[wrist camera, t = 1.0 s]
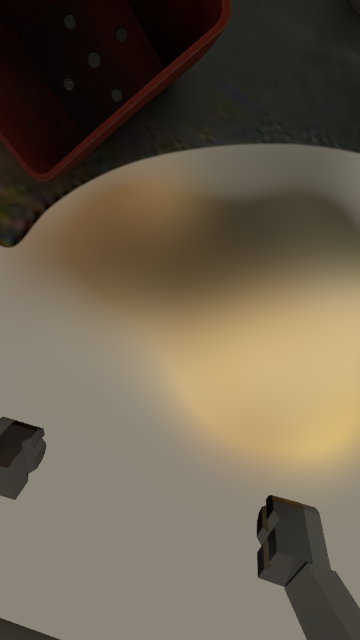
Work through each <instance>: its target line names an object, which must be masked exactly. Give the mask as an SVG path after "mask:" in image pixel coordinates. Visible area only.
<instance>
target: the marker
mask: <svg viewBox="0 0 360 640" xmlns="http://www.w3.org/2000/svg"><path fill="white" fill-rule="evenodd" d="M350 2H351V5H352V8H353V9H354V10H355V11H356V12H357V13H360V0H350Z"/></svg>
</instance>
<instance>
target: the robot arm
mask: <svg viewBox="0 0 360 640" xmlns="http://www.w3.org/2000/svg"><path fill="white" fill-rule="evenodd" d="M43 436H44V429H43V428H40V427H36V426H33V425H29V424H26V423H23V422H19V421H17V420H13V419H10V418H6V417H2V418H0V495H1V496H4V497H7V498H11V499H16V498H17V496H18V495H19V494H20V492H21V491H22V489H23V488H24V486H25V485H26V483H27V482H28V474H29V473H30V472H32V471H34V470H35V469H37V467H38V466H39V464H40V463H41V461H42V459H43V456H44V454H45V450H46V443H45V441H44V440H43V439H42V437H43ZM257 538H258V540H259V542H260V544H261V548H260V549H259V551H258V552H257V561H258V578H261V579H264V580H267V581H269V582H272V583H275V584H278V585H281V586H283V587H285V591H286V593H287V596H288V598H289V600H290V602H291V605H292V607H293V609H294V611H295V614H296V616H297V618H298V620H299V623H300V625H301V627H302V630H303V632H304V634H305V636H306V639H307V640H360V608H359V607H358V605H357V603H356V602H355V600H354V599H353V597H352V596H351V594H350V593H349V591H348V590H347V588H346V586H345V585H344V584H343V582H342V580H341V579H340V577H339V576H338V574H337V573H336V571H333V570H331V568H330V563H329V559H328V554H327V548H326V544H325V539H324V534H323V529H322V524H321V519H320V514H319V512H318V511H317V509H316V508H315V507H311V506H308V505H304V504H301V503H298V502H295V501H291V500H287V499H284V498H279V497H276V496H272V495H269V496H268V497H267V499H266V506H263V507H262V508H261V510H260V512H259V515H258V520H257ZM0 640H59V639H57V638H54V637H51V636H49V635H46V634H43V633H40V632H37V631H35V630H32V629H29V628H26V627H24V626H21V625H18V624H15V623H13V622H10V621H7V620H4V619H1V618H0Z"/></svg>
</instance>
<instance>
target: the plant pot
mask: <svg viewBox="0 0 360 640" xmlns="http://www.w3.org/2000/svg"><path fill="white" fill-rule="evenodd" d="M231 10H232V9H231V1H230V0H0V140H1V141H2V142H3V143H4V145H5V146H6V147H7V148H8V150H9V151H10V152H11V153H12V155H13V156H14V157H15V158H16V159H17V161H18V162H19V163H20V164H21V166H22V167H23V168H24V169H25V171H26V172H27V173H28V174H29V175H30V176H31V177H32V178H33V179H35V180H37V181H48V180H51V179H54V178H56V177H58V176H60V175H62V174H64V173H66V172H68V171H69V170H71V169H72V168H74V167H75V166H76V165H78V164H79V163H80V162H81V161H82V160H83V159H85V158H86V157H87V156H88V155H89V154H90V153H91V152H92V151H93V150H95V149H96V148H97V147H98V146H99V145H100V144H101V143H102V142H103V141H104V140H106V139H107V138H108V137H109V136H110V135H111V134H112V133H113V132H114V131H116V130H117V129H118V128H119V127H120V126H121V125H122V124H123V123H125V122H126V121H127V120H128V119H129V118H130V117H132V116H133V115H134V114H135V113H136V112H137V111H139V110H140V109H141V108H142V107H143V106H145V105H146V104H147V103H148V102H150V101H151V100H152V99H153V98H154V97H156V96H157V95H158V94H159V93H161V92H162V91H163V90H164V89H165V88H167V87H168V86H169V85H170V84H172V83H173V82H174V81H175V80H176V79H178V78H179V77H180V76H181V75H182V74H184V73H185V72H186V71H187V70H189V69H190V68H191V67H192V66H193V65H194V64H195V63H196V62H197V61H198V60H199V59H200V58H201V57H202V56H203V55H204V54H205V53H206V52H207V51H208V50H209V49H210V47H211V46H212V45H213V44H214V43H215V41H216V40H217V39H218V37H219V36H220V35H221V33H222V32H223V30H224V29H225V27H226V26H227V24H228V22H229V19H230V16H231ZM66 13H72V14H73V15H74V17H75V22H76V26H75V27H74V28H73V29H68V28H67V27H66V26H65V24H64V16H65V15H66ZM119 26H123V27H125V29H126V30H127V33H128V36H127V40H125V41H124V42H119V41H118V40H117V38H116V36H115V32H116V29H117V27H119ZM91 51H97V52H98V53H99V54H100V56H101V64H100V66H99V67H98V68H92V67H91V66H90V65H89V63H88V59H87V57H88V54H89V52H91ZM66 76H68V77H71V78H72V79H73V81H74V88H73V90H71V91H68V90H67V89H65V87H64V85H63V80H64V78H65V77H66ZM114 88H119V89H120V90H121V91H122V99H121V100H120V101H118V102H116V101H114V100H113V99H112V97H111V91H112V89H114Z"/></svg>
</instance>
